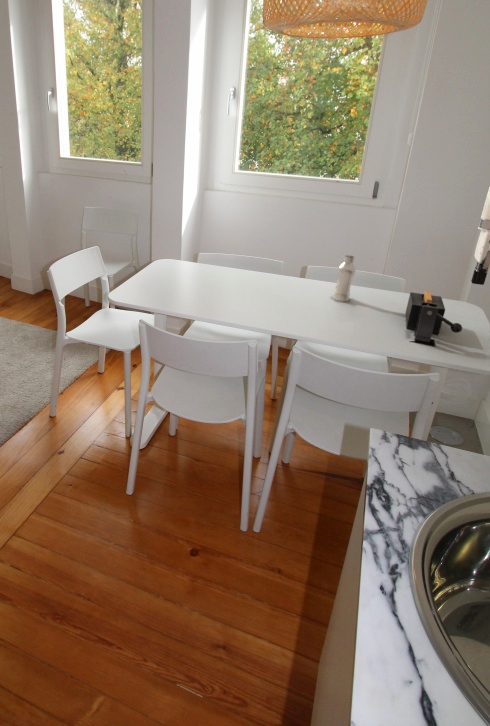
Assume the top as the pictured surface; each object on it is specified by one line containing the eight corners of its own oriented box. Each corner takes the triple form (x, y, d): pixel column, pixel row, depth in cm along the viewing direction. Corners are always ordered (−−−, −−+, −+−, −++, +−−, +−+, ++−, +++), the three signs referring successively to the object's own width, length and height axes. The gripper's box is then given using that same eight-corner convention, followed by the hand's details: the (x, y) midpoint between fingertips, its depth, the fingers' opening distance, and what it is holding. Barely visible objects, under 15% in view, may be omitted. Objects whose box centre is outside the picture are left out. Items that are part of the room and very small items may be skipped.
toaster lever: (456, 332, 155) (463, 325, 153) (457, 336, 152) (465, 329, 150) (421, 309, 157) (428, 302, 155) (421, 312, 154) (429, 305, 153)
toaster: (434, 324, 174) (441, 296, 170) (437, 338, 162) (445, 309, 158) (403, 319, 178) (410, 292, 174) (405, 333, 166) (412, 304, 162)
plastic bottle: (351, 304, 191) (362, 258, 183) (338, 307, 189) (349, 260, 180) (340, 298, 197) (350, 253, 188) (327, 300, 194) (337, 254, 186)
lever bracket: (433, 340, 161) (442, 303, 156) (435, 349, 154) (445, 311, 149) (407, 335, 164) (415, 299, 159) (407, 344, 157) (417, 306, 152)
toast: (423, 316, 173) (429, 291, 169) (425, 326, 164) (432, 300, 160) (418, 315, 173) (425, 290, 169) (420, 325, 165) (427, 299, 161)
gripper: (515, 231, 132) (496, 292, 138) (503, 222, 144) (487, 278, 151) (483, 228, 135) (466, 288, 141) (475, 219, 147) (460, 275, 154)
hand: (477, 283), depth 146 cm, fingers closed
